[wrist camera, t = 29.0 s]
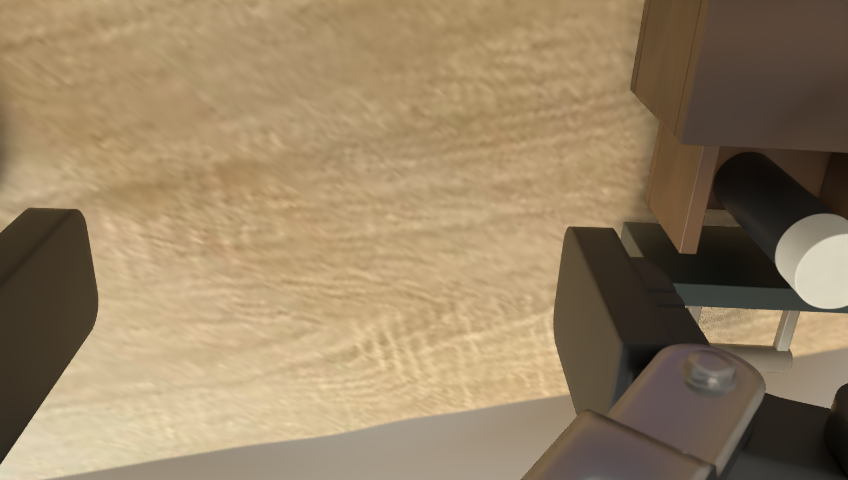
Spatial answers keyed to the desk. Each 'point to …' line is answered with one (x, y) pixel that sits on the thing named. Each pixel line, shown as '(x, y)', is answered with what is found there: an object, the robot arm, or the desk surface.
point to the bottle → (788, 227)
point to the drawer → (727, 237)
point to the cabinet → (746, 72)
